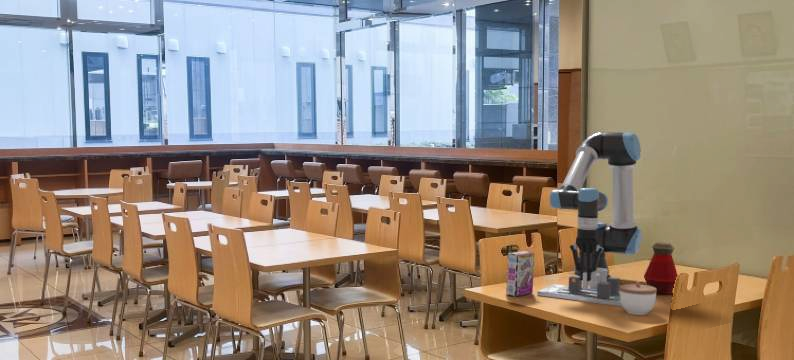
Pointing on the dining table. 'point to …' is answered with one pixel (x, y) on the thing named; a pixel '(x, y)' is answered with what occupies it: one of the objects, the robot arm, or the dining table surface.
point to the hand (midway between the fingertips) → (585, 289)
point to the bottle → (661, 269)
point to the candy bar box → (520, 273)
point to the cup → (598, 277)
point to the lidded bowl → (637, 298)
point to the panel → (579, 295)
